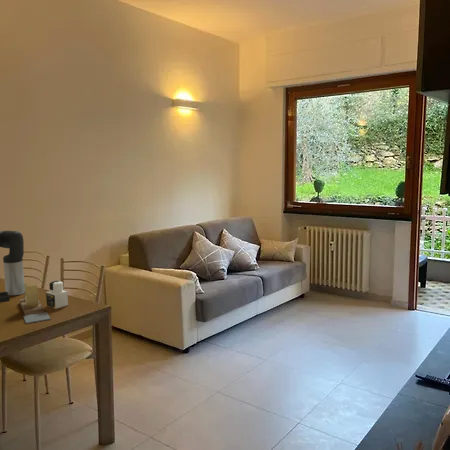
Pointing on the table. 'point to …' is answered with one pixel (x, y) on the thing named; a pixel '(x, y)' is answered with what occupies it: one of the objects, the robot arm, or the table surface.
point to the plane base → (31, 308)
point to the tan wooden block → (31, 295)
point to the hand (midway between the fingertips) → (8, 296)
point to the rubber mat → (36, 317)
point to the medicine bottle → (56, 295)
